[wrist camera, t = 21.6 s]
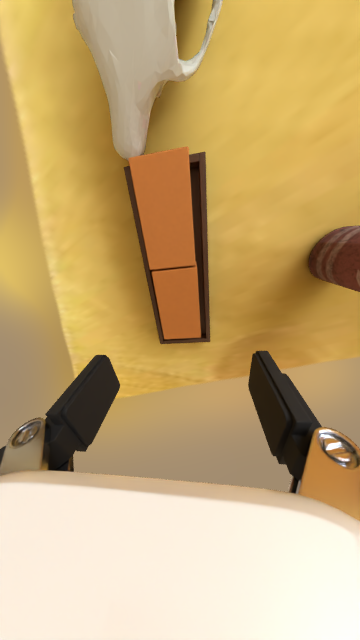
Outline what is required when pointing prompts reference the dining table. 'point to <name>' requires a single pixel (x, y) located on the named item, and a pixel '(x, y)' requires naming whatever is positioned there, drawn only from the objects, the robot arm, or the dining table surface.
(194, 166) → the frame
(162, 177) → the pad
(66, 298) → the dining table surface
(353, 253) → the can
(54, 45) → the dining table surface
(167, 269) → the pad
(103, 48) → the animal skull
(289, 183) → the dining table surface
